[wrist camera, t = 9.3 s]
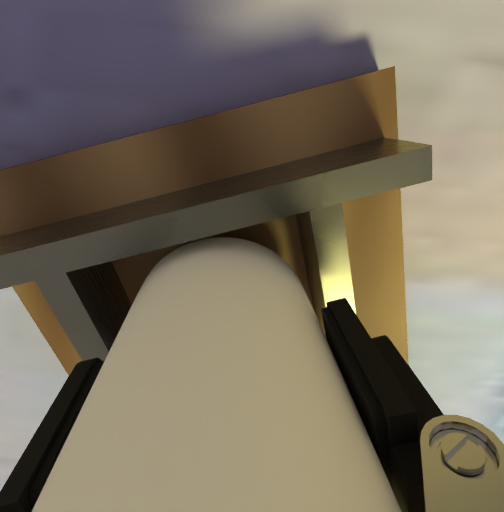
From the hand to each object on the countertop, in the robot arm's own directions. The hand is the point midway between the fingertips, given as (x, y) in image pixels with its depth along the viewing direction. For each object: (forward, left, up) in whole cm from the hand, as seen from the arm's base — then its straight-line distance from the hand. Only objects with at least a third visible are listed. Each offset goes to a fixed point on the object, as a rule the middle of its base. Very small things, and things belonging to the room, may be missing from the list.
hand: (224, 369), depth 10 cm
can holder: (0, 0, -5) cm, 5 cm away
